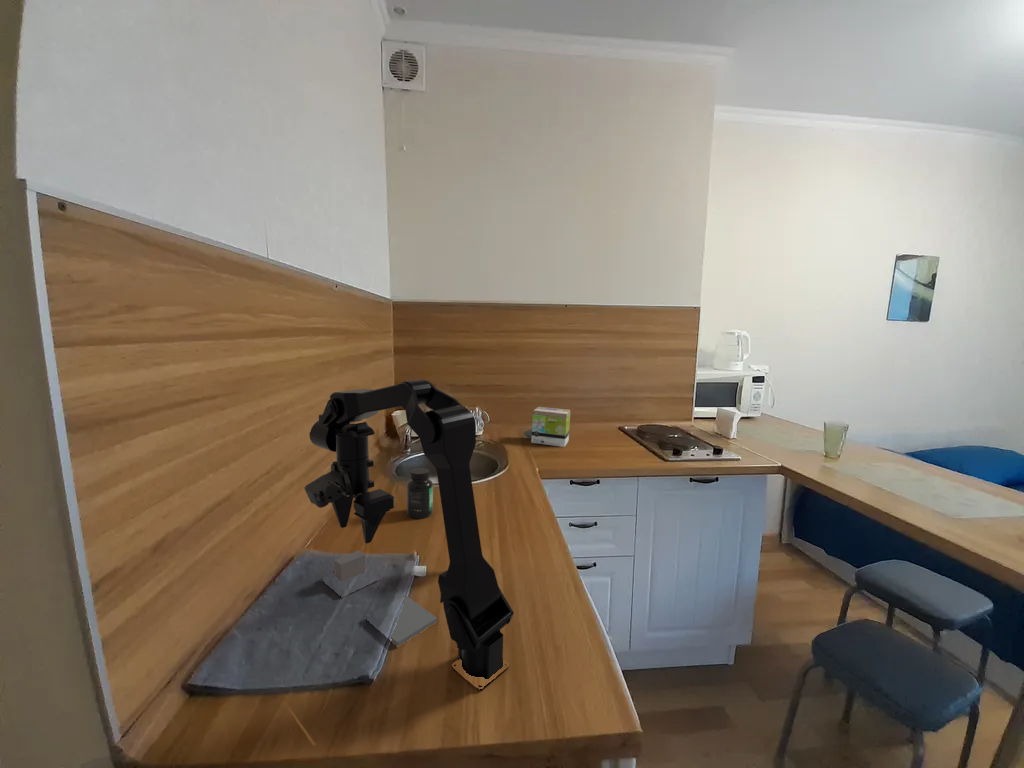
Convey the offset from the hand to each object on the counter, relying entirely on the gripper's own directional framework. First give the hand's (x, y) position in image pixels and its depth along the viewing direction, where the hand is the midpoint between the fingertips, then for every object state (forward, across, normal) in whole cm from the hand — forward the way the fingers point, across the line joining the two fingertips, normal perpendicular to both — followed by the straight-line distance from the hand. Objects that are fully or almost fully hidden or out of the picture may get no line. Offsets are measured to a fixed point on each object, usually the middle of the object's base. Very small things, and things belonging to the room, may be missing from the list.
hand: (355, 534), depth 85 cm
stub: (+10, -2, 0) cm, 11 cm away
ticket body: (+11, +15, 0) cm, 19 cm away
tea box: (+11, -36, +111) cm, 117 cm away
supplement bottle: (+11, -18, +28) cm, 35 cm away
